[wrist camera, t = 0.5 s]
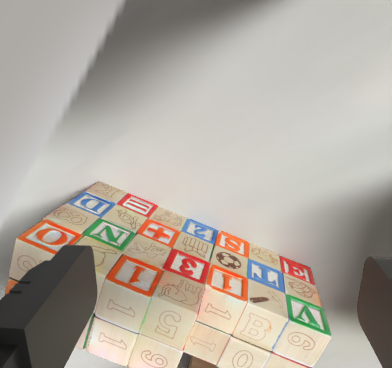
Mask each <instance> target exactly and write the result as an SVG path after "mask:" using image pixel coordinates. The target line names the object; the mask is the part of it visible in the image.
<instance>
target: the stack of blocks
mask: <svg viewBox="0 0 392 368" xmlns="http://www.w3.org/2000/svg"><path fill="white" fill-rule="evenodd" d="M64 245H90V246H91V247H92V249H93V253H94V262H95V272H96V281H97V302H96V306H95V309H94V311H93V313H92V315H91V317H90V319H89V321H88V323H87V325H86V327H85V329H84V330H83V332H82V334H81V336H80V338H79V340H78V342H77V344H76V346H75V347H76V348H79V349H84V348H85V349H86V350H87V351H88V352H89V353H92V354H94V355H97V356H99V357H102V358H104V359H106V360H109V361H112V362H114V363H117V364H119V365H121V366H128V367H129V368H177V366H178V364H179V362H180V359H181V357H182V354H183V352H184V353H187V354H189V355H192V356H194V357H197V358H199V359H202V360H204V361H207V362H209V363H211V364H214V365H216V366H217V367H219V368H312V367H313V366H314V364H315V363H316V361H317V360H318V358H319V357H320V355H321V353H322V352H323V350H324V348H325V347H326V345H327V344H328V342H329V340H330V339H331V337H332V336H331V332H330V328H329V325H328V321H327V318H326V315H325V311H324V309H323V308H322V306H321V302H320V298H319V294H318V291H317V287H316V286H315V282H314V279H313V275H312V271H311V269H310V268H309V267H307V266H304V265H302V264H299V263H297V262H294V261H291V260H289V259H286V258H284V257H281V256H279V255H278V254H276V253H274V252H271V251H269V250H267V249H264V248H262V247H259V246H257V245H254V244H251V243H248V242H247V241H244V240H242V239H240V238H237V237H235V236H232V235H230V234H228V233H225V232H223V231H218V230H216V229H213V228H211V227H208V226H206V225H203V224H201V223H199V222H196V221H194V220H191V219H187V218H186V217H183V216H181V215H178V214H176V213H173V212H171V211H168V210H166V209H163V208H161V207H158V206H157V205H155V204H153V203H151V202H148V201H146V200H143V199H141V198H138V197H136V196H134V195H131V194H129V193H126V192H124V191H122V190H120V189H117V188H115V187H112V186H110V185H107V184H105V183H103V182H97V183H96V184H94V185H93V186H91V187H90V188H88V189H87V190H86V191H84V192H83V193H82V194H80V195H78V196H77V197H76V198H74V199H72V200H71V201H69V202H68V203H66V204H63V205H62V206H61V207H58V208H57V209H56V210H54V211H53V212H51V213H50V214H48V215H47V216H45V217H44V218H43V220H42V221H41V222H39V223H38V224H36V225H35V226H33V227H32V228H30V229H29V230H27V231H26V232H24V233H23V234H21V235H20V236H18V237H17V238H16V240H15V245H14V250H13V255H12V260H11V265H10V269H9V273H8V276H9V277H10V278H9V279H8V282H7V286H6V291H5V295H6V294H7V293H9V291H10V290H11V289H12V288H13V286H14V285H15V284H16V283H17V284H18V282H19V280H20V279H21V278H22V277H23V276H24V275H25V274H26V273H27V272H28V271H29V270H30V269H31V268H33V267H35V266H37V265H38V264H40V263H42V262H43V261H45V260H51V259H52V258H53V257H54V255H55V254H56V253H57V252H58V251H59V250H60V249H61V248H62V246H64Z"/></svg>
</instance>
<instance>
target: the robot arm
mask: <svg viewBox="0 0 392 368" xmlns="http://www.w3.org/2000/svg"><path fill="white" fill-rule="evenodd" d="M96 302H97V281H96V272H95V262H94V253H93V249H92V247H91V246H90V245H64V246H62V248H61V249H60V250H59V251H58V252H57V253H56V254H55V255H54V257H53V258H52V259H51V260H45V261H43V262H42V263H40V264H38V265H37V266H35V267H33V268H31V269H30V270H29V271H28V272H27V273H26V274H25V275H24V276H23V277H22V278H21V279H20V280H19V282H18V284H17V283H16V284H15V285H14V286H13V288H12V289H11V290H10V291H9V293H7V294H6V295H5V296H4V297H3V298H2V299H1V300H0V368H64V366H65V365H66V363H67V361H68V359H69V357H70V355H71V353H72V351H73V349H74V348H75V346H76V344H77V342H78V340H79V338H80V336H81V334H82V332H83V330H84V329H85V327H86V325H87V323H88V321H89V319H90V317H91V315H92V313H93V311H94V309H95V306H96ZM357 311H358V318H359V322H360V325H361V327H362V329H363V331H364V333H365V335H366V336H367V338H368V340H369V342H370V344H371V346H372V348H373V350H374V352H375V354H376V355H377V357H378V359H379V361H380V363H381V365H382V367H383V368H392V258H388V257H368V258H367V259H366V261H365V265H364V270H363V275H362V281H361V286H360V292H359V298H358V304H357Z"/></svg>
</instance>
